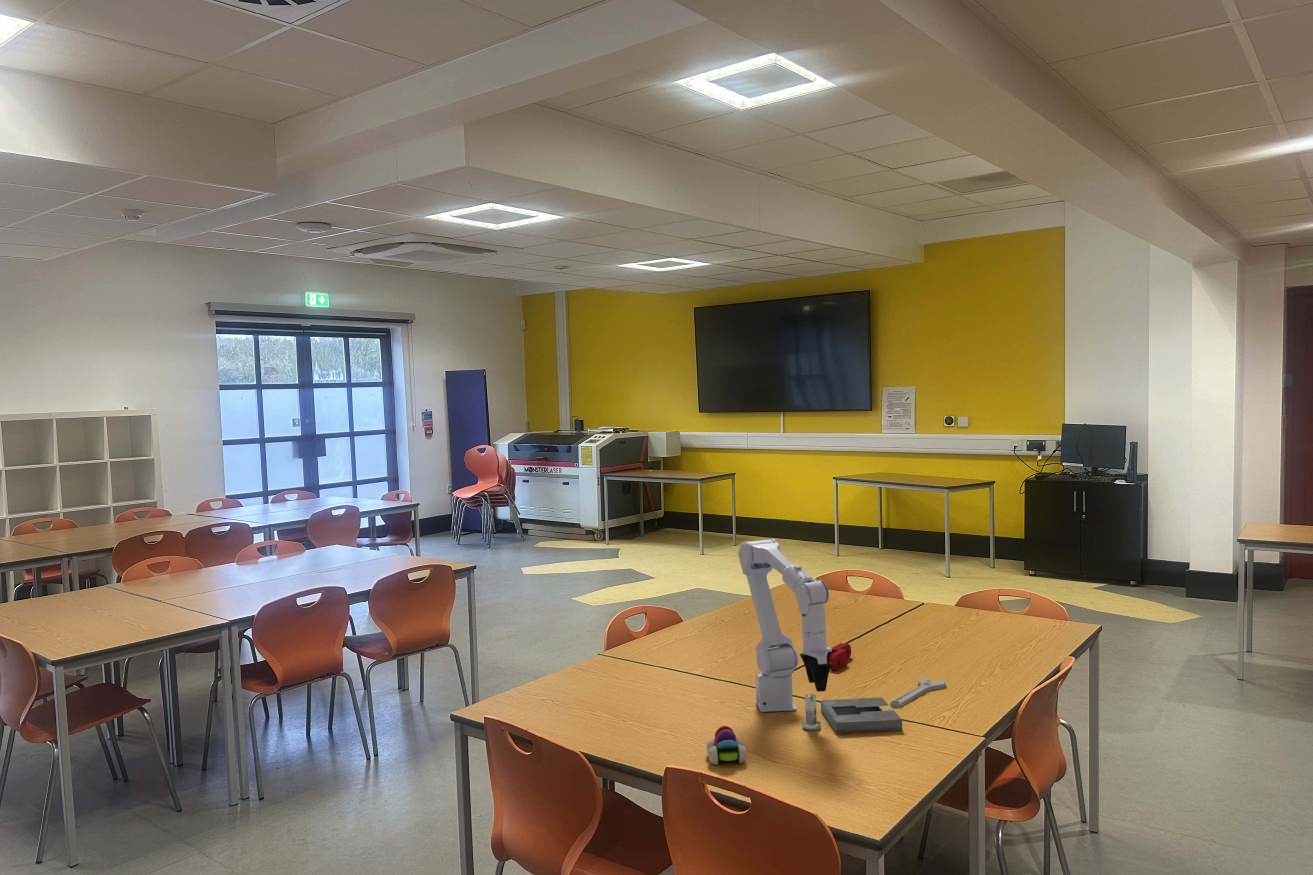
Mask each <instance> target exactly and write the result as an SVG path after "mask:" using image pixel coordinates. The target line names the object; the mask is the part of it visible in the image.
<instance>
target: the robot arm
mask: <svg viewBox="0 0 1313 875" xmlns="http://www.w3.org/2000/svg"><path fill="white" fill-rule="evenodd" d="M738 550H739V551H738V554H737V555H738V559H739V562H740V567H741V570H742V574H743V575H745V576H746V579H747V583H748V587H749V592H750V595H751V598H752V602H753V606H754V609H755V610H754V611H755V614H756V618H757V621H758V625H759V629H760V634H761V637H762V638H761V639H760V640H759V642H758V643H757V644H756V646H755V652H756V665H757V667H758V669H759V671H760V672H761V673H756V674H755V692H756V693H755V696H756V697H755V699H756V700H755V703H756V705H757V707H758V709H759V711H760V713H767V712H768V713H769V712H787V711H797V706H796V704H795V703H794V702H793V701H794V700H793V676H792V675H793V674H794V673H795V670H796V669H797V668H798V665H799V656H800V658H801V660H802V662H803V664H804V668H805V672H806V675H807V681H808V683H810V684H812V683H813V684H814V686H815V691H816V692H817V693H819V692H826V690H827V687H828V679H829V674H830V671H832V670H831V668H832V665H833V663H832V662H827V656H826V655H827V653H828V652H831V651H832V648H831V647H832V646H831V647H830V646H828V645H827V643H828V642H827V626H826V625H827V623H826V608H825V605H826V604H827V603H828V601H829V597H830V592H829V588H828V586H827V583H825V581H824V580H823V579H814V578H813V577H812V576H811V575H810V574H808V572H806V571H805V569H804V568H802V566H801V565H800V564H792V563H791V562H790V561H789V560H788V559H787V557H785V556H784V554H783V553H782V550H781V545H780V543H779V542H778V541H776V539H774V538H768V539H761V540H754V541H743V542H741V544H740V546H739V549H738ZM773 569H774V570H776V571H777V572H778V573H779V574H781V575H782V576H781V578H782V579H781V580H782V582H783V583H784V584H785V585H786V586H787V587H788V588H789V589H790V590H791V591H792V592H793V593H794V594H795V595H794V596H795V600H796V602H797V604H798V611H799V613H800V616H801V630H802V631H801V632H802V646H803V647H802V653H799V655H798V652H797V650H796V648H795V646H794V645H793V640H792V639H791V638H789V636H786V635H785V634H784V633H782V630H781V627H780V622H779V619H778V615H777V611H776V607H775V604H774V601H773V597H772V592H771V590H770V586H769V582H768V574H769V573H771V572H772V571H773Z"/></svg>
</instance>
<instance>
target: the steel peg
mask: <svg viewBox="0 0 1313 875" xmlns="http://www.w3.org/2000/svg"><path fill="white" fill-rule="evenodd" d="M804 699H805V700H804V701H805V720H803V721H802V723H801V724H802V730H804V731H807V732H817V731H820V730H821V729H822V728H821V722H820V721H819V720H817V719H818V718H817V717H818V716H817V695H816V694H813V693H807V694H805V695H804Z"/></svg>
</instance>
